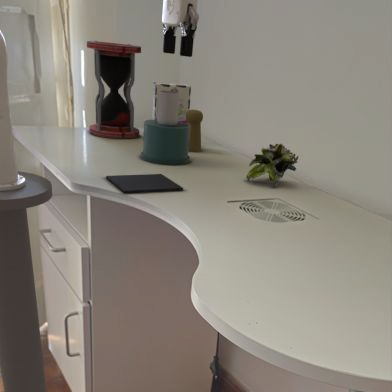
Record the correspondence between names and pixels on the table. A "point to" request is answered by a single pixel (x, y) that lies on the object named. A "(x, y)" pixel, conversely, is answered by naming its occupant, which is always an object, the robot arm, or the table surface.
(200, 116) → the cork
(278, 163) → the leafy green plant
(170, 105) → the steel cup
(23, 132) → the table surface
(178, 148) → the teal short wide cylinder
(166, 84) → the candy bar box
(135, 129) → the hourglass
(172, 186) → the mat
